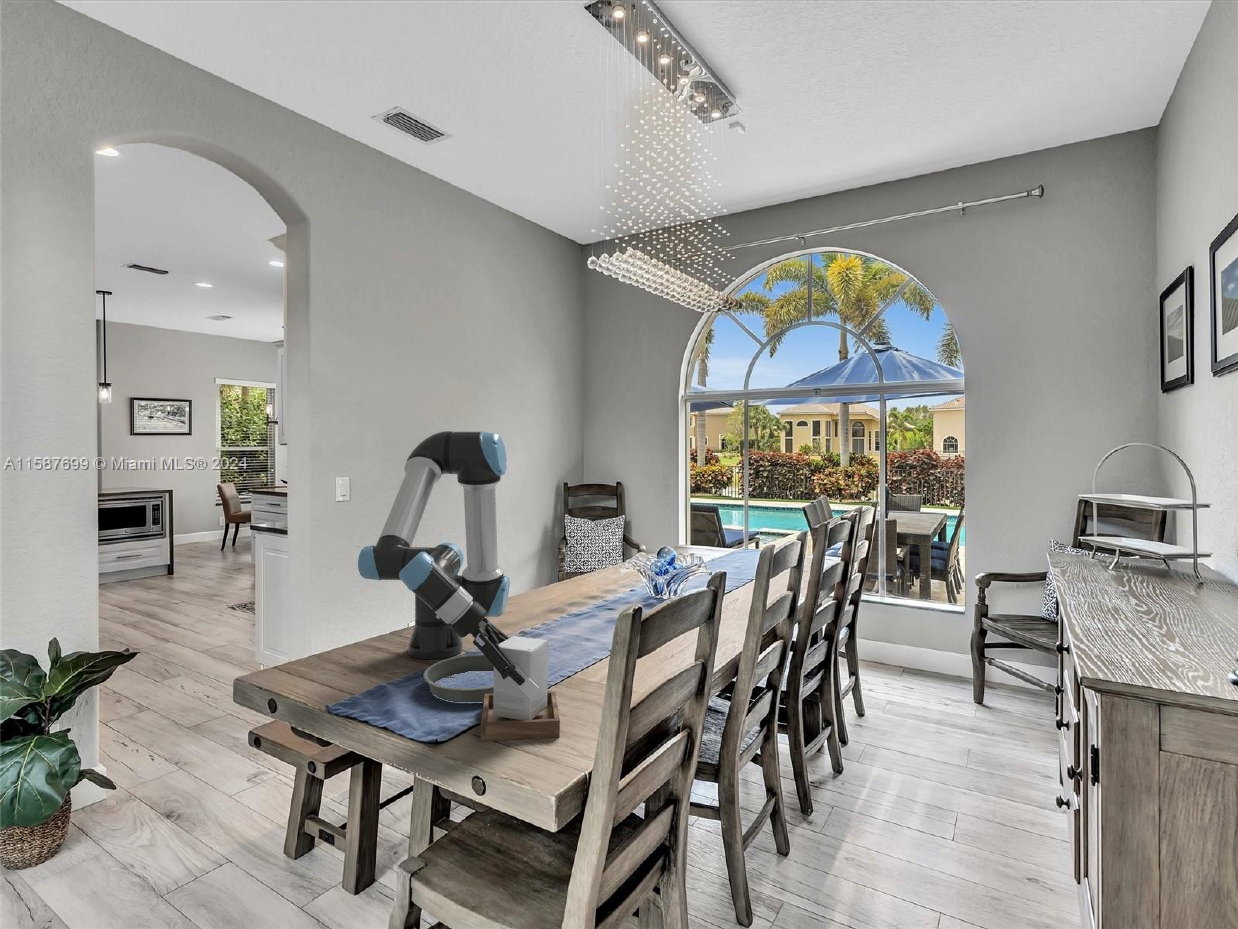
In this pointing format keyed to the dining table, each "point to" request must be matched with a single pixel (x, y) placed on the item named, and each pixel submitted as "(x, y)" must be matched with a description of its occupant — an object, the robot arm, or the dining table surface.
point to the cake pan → (450, 668)
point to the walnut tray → (520, 723)
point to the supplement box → (535, 665)
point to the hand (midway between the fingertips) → (533, 681)
